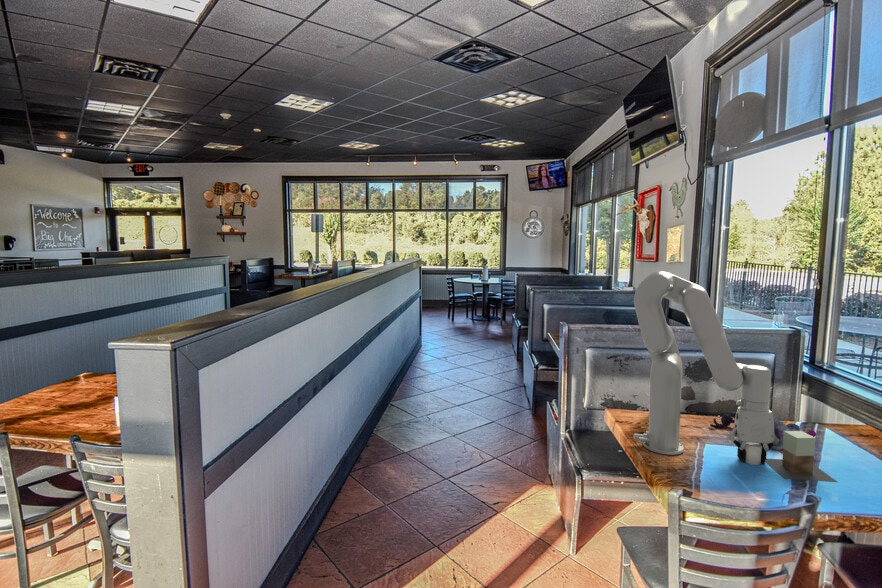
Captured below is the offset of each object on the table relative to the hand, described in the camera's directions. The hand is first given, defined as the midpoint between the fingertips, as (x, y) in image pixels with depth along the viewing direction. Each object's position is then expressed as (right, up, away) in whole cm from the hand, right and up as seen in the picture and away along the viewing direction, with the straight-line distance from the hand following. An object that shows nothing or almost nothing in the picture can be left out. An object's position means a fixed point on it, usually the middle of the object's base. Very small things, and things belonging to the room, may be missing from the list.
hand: (751, 460), depth 151 cm
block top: (+10, +5, -6) cm, 13 cm away
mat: (+10, -1, -6) cm, 12 cm away
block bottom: (+10, -1, -6) cm, 12 cm away
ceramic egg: (0, -1, 0) cm, 1 cm away
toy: (+15, +1, +18) cm, 23 cm away
